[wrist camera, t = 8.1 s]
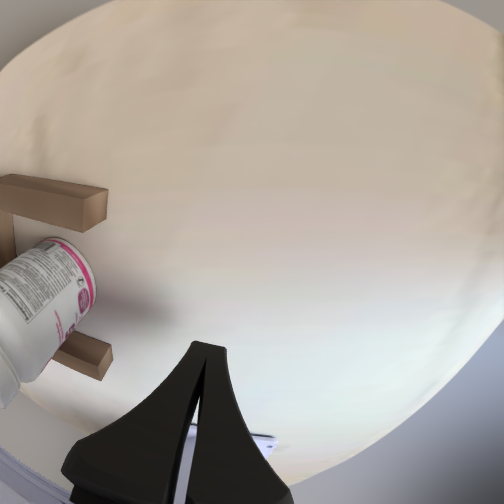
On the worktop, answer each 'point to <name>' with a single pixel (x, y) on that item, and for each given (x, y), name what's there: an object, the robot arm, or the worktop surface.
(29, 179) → the notched board
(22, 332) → the pill bottle
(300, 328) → the worktop surface
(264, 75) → the worktop surface
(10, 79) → the worktop surface
